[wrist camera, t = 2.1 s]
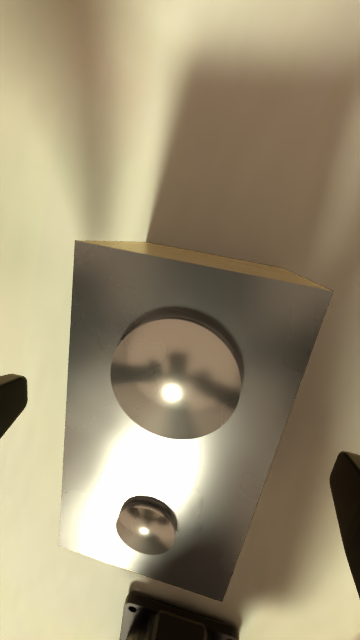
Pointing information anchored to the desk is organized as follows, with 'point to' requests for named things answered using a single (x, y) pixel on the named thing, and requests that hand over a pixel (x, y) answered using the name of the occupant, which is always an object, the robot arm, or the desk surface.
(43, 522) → the desk surface
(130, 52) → the desk surface
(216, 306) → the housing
